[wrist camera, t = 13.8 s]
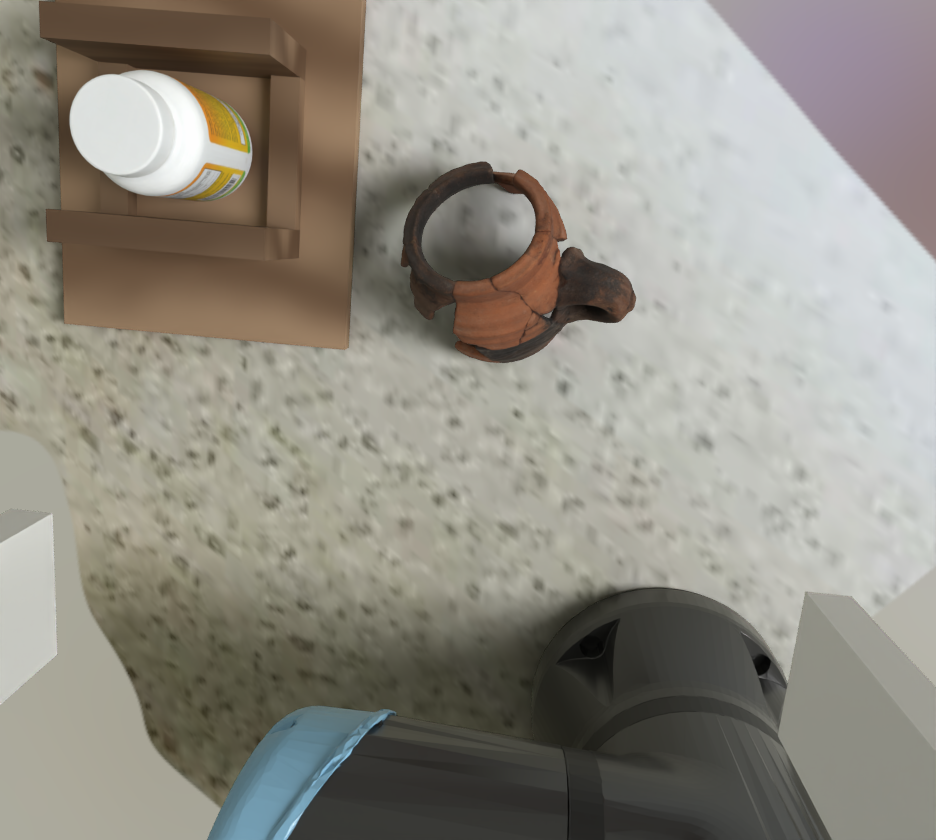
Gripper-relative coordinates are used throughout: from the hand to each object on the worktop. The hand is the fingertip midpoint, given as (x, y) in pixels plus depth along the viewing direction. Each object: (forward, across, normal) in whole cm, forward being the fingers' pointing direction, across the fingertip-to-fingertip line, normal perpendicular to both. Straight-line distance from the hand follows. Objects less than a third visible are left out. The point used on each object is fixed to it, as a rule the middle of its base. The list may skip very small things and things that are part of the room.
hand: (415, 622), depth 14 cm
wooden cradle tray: (+32, +16, -10) cm, 37 cm away
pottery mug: (+32, -1, -5) cm, 32 cm away
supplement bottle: (+31, +16, -10) cm, 36 cm away
